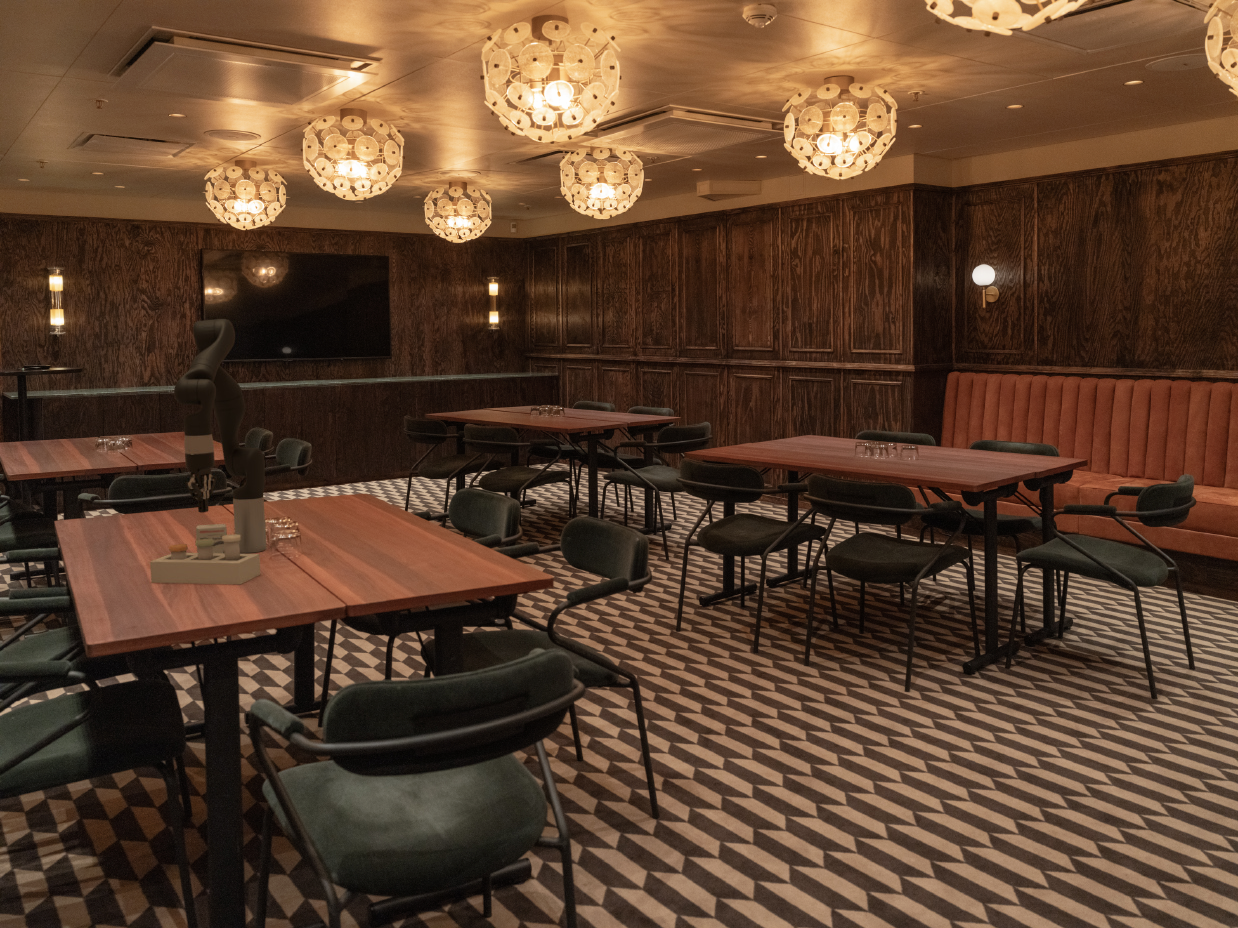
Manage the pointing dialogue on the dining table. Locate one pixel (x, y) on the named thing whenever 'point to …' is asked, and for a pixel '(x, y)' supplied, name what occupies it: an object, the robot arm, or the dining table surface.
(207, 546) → the sage plunger
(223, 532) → the ink box
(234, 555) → the cream plunger
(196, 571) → the panel
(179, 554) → the terracotta plunger
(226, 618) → the dining table surface
